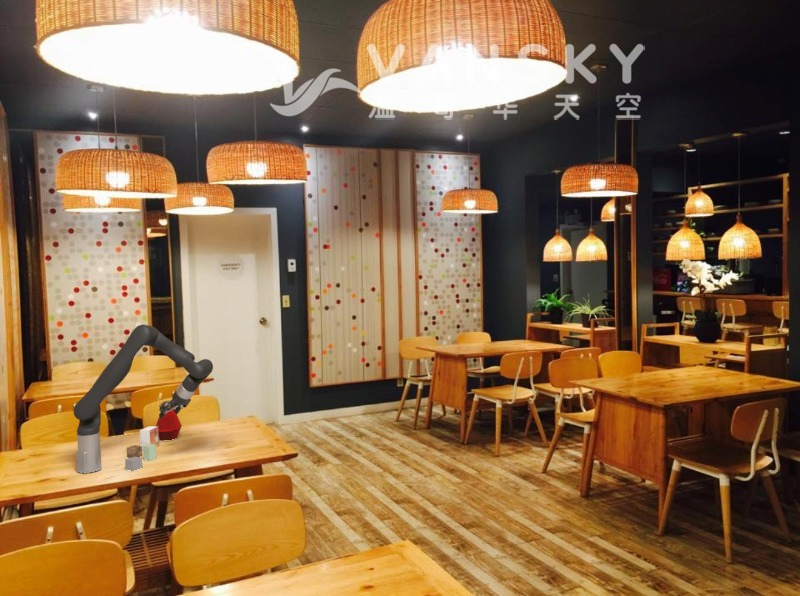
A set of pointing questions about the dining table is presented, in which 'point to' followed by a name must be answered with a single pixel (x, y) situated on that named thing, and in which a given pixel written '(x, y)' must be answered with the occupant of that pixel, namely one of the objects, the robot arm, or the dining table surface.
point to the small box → (149, 436)
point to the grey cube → (133, 463)
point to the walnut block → (134, 451)
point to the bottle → (168, 425)
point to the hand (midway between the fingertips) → (168, 414)
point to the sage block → (149, 452)
